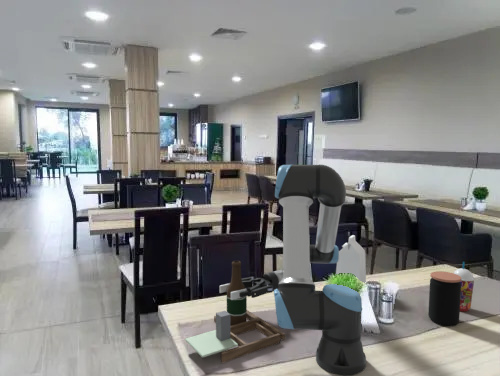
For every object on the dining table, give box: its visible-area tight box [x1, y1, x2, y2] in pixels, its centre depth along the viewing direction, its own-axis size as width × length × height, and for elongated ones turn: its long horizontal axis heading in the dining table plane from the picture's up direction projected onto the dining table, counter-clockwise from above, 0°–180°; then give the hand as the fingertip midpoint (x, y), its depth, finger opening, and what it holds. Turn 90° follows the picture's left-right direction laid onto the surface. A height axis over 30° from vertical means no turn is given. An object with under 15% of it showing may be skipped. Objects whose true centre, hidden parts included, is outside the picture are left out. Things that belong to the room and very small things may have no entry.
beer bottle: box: [226, 260, 248, 326], centre depth 144 cm, size 8×8×24 cm
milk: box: [335, 234, 367, 283], centre depth 178 cm, size 12×12×26 cm
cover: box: [184, 310, 239, 358], centre depth 123 cm, size 13×13×9 cm
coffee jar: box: [427, 270, 461, 327], centre depth 147 cm, size 11×11×18 cm
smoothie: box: [453, 261, 476, 312], centre depth 158 cm, size 8×8×20 cm
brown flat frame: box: [213, 309, 286, 364], centre depth 136 cm, size 27×26×3 cm
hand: (225, 292), depth 141 cm, fingers closed on beer bottle, 7 cm apart
